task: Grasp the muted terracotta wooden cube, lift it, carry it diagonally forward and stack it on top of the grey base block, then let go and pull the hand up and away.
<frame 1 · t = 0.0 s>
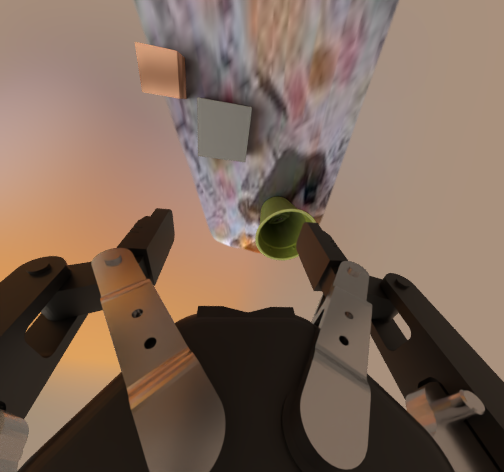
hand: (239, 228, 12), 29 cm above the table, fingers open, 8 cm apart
terracotta cube: (169, 76, 29), on the table
grey base block: (224, 129, 34), on the table
plant pot: (275, 209, 44), on the table
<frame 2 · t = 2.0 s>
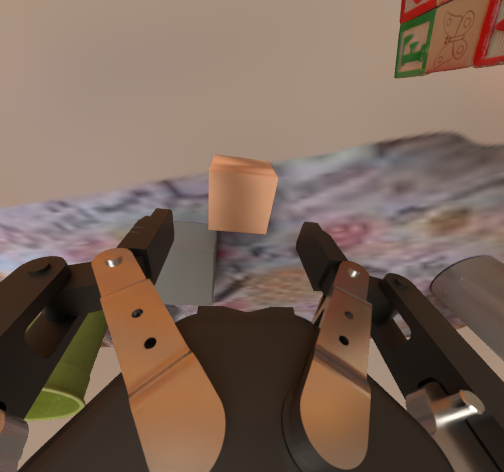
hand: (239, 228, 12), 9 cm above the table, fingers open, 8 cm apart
terracotta cube: (239, 183, 19), on the table
grey base block: (183, 249, 23), on the table
plant pot: (88, 307, 28), on the table
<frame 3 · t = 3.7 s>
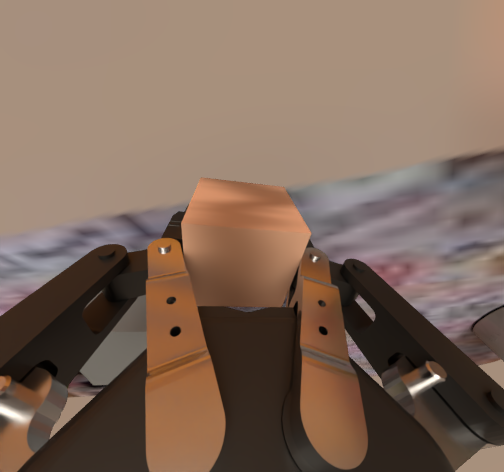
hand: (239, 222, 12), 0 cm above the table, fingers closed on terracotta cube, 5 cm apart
terracotta cube: (239, 218, 13), on the table, touching gripper
grey base block: (161, 299, 17), on the table
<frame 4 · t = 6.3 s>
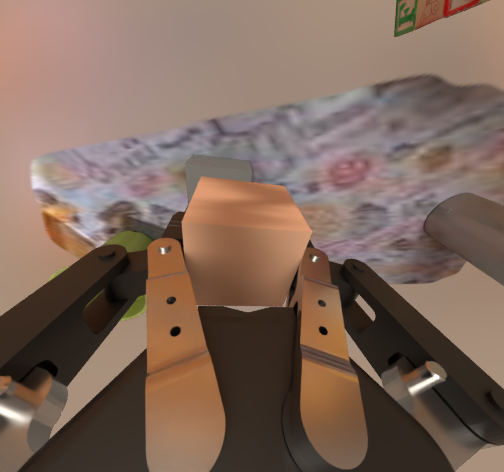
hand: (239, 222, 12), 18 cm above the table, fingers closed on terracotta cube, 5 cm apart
terracotta cube: (239, 217, 13), point 17 cm above the table, touching gripper
grey base block: (221, 185, 29), on the table
plant pot: (137, 245, 34), on the table
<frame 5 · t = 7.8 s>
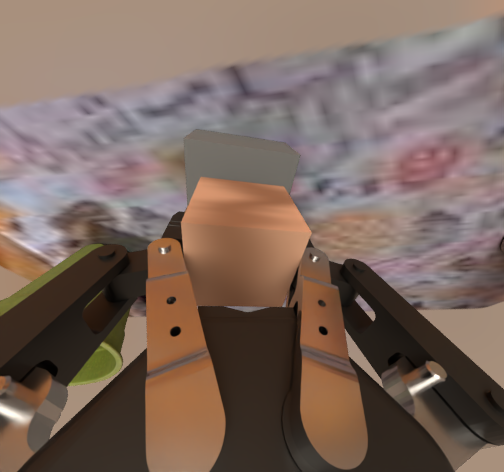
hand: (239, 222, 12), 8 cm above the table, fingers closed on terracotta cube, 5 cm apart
terracotta cube: (239, 218, 13), point 8 cm above the table, touching gripper
grey base block: (237, 179, 19), on the table
plant pot: (113, 262, 24), on the table
when the fingers open (7 cm above the table, at t = 8.9 s): terracotta cube drops 1 cm, resting on grey base block.
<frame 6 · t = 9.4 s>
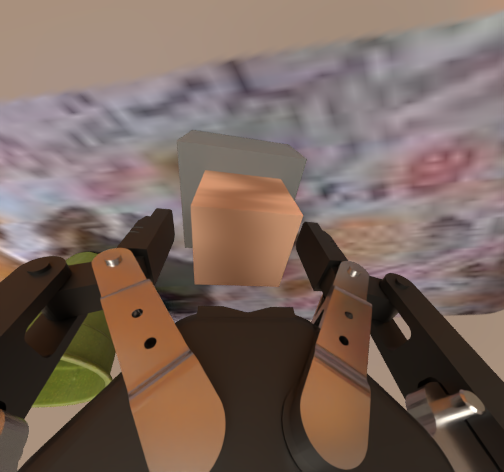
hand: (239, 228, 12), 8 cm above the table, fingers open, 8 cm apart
terracotta cube: (240, 208, 14), point 5 cm above the table, touching grey base block
grey base block: (237, 184, 18), on the table
plant pot: (105, 271, 23), on the table
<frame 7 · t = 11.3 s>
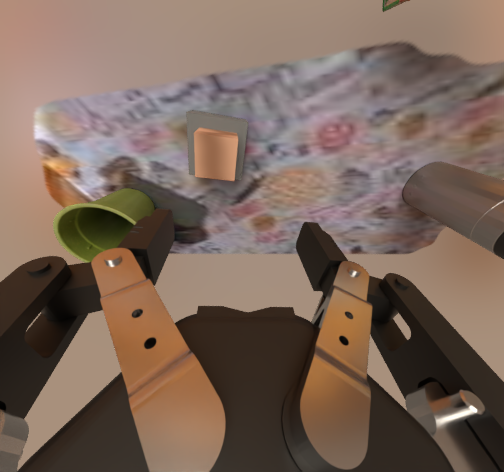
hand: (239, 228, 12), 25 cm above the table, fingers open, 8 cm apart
terracotta cube: (217, 149, 27), point 5 cm above the table, touching grey base block
grey base block: (218, 143, 31), on the table
plant pot: (136, 205, 36), on the table
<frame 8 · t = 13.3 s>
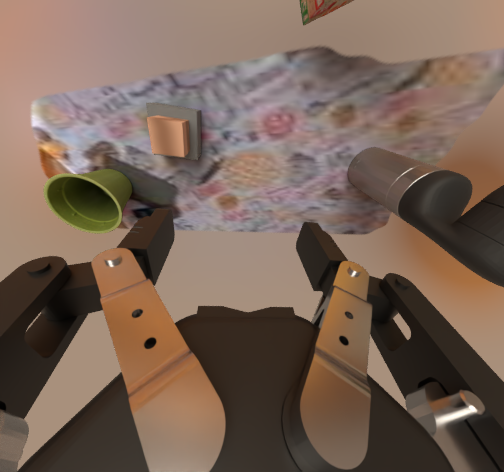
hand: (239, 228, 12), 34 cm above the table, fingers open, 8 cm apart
terracotta cube: (174, 133, 33), point 5 cm above the table, touching grey base block
grey base block: (180, 130, 37), on the table
plant pot: (116, 184, 43), on the table
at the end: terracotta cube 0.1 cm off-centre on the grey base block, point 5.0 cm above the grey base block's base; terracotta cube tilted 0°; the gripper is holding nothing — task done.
